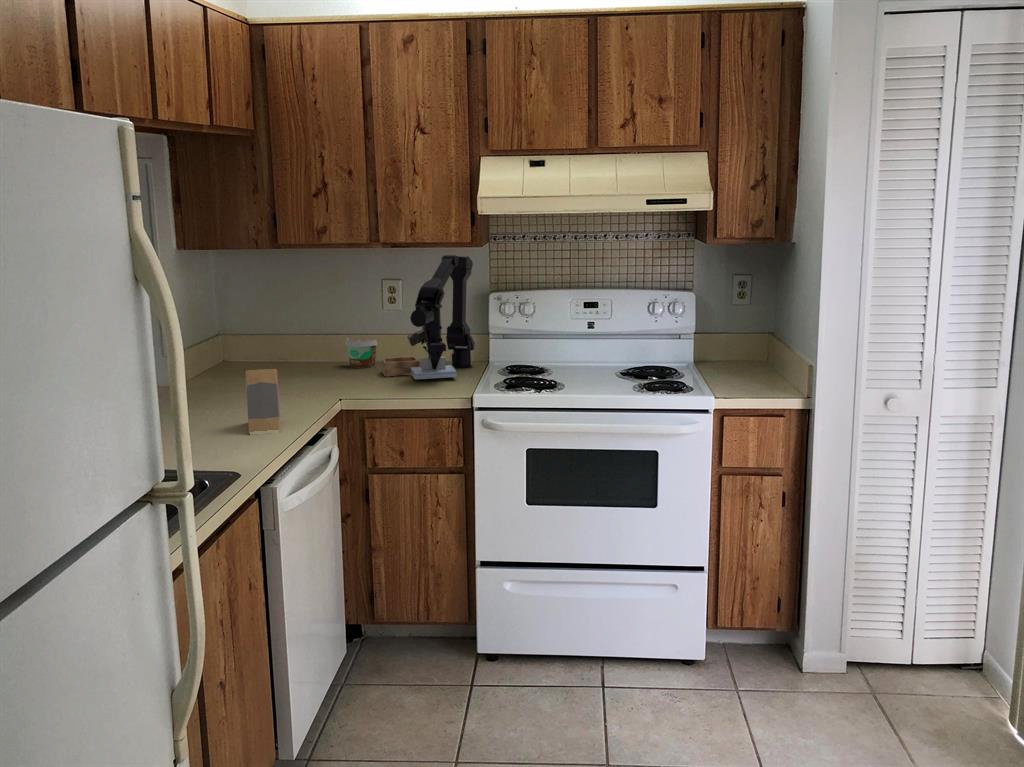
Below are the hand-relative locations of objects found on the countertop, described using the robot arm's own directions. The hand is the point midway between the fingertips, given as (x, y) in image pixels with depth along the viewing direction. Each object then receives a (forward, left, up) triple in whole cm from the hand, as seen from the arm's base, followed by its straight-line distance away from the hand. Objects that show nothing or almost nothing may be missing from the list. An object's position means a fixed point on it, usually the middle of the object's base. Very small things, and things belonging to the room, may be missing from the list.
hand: (433, 368), depth 315 cm
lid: (0, 0, -2) cm, 2 cm away
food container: (+23, -29, -4) cm, 37 cm away
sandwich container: (+55, +53, -4) cm, 76 cm away
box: (+10, -12, -4) cm, 16 cm away
